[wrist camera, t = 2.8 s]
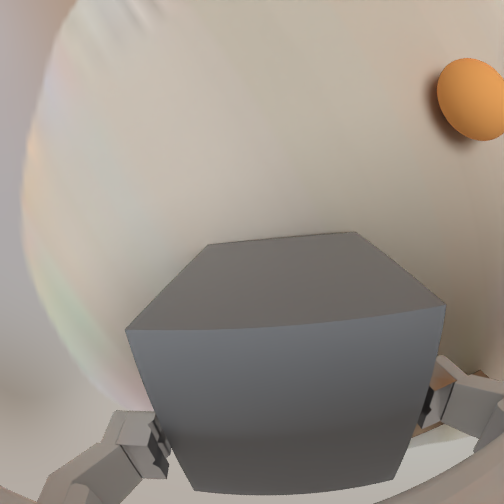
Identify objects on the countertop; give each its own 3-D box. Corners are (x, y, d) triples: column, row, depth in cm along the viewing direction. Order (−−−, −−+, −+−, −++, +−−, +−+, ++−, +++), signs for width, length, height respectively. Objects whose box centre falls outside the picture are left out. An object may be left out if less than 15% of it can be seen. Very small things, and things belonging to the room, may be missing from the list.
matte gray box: (355, 231, 14) (446, 304, 5) (353, 357, 16) (393, 479, 7) (208, 244, 15) (124, 329, 6) (228, 366, 16) (194, 490, 8)
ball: (467, 77, 13) (515, 62, 8) (479, 145, 14) (532, 144, 9) (414, 63, 13) (463, 37, 8) (428, 140, 14) (486, 133, 9)
